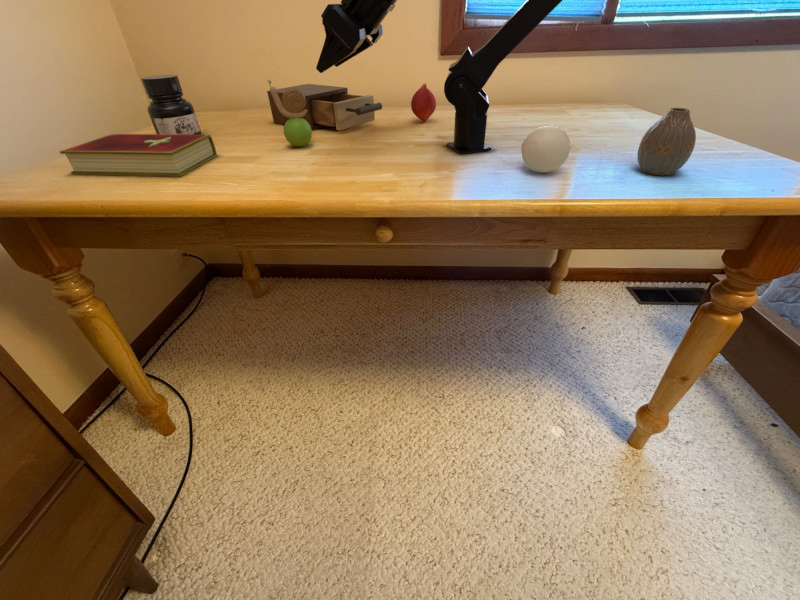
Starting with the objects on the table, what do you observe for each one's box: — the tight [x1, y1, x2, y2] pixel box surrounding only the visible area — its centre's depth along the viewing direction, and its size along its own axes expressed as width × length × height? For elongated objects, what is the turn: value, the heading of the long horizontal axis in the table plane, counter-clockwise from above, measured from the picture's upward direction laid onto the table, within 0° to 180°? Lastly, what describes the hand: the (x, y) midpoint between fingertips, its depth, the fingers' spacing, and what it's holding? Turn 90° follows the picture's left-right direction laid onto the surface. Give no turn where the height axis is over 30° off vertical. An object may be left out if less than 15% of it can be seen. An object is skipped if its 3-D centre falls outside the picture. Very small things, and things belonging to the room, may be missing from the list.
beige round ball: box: [521, 125, 571, 174], centre depth 59 cm, size 7×7×7 cm
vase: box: [637, 107, 697, 176], centre depth 56 cm, size 7×7×9 cm
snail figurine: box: [267, 79, 313, 148], centre depth 73 cm, size 5×6×12 cm
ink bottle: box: [140, 74, 202, 135], centre depth 82 cm, size 10×9×12 cm
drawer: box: [310, 93, 383, 131], centre depth 87 cm, size 18×11×5 cm, turn 51°
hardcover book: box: [59, 133, 218, 178], centre depth 69 cm, size 12×21×4 cm, turn 82°
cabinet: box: [266, 83, 349, 131], centre depth 93 cm, size 15×13×7 cm
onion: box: [410, 83, 437, 122], centre depth 89 cm, size 6×6×8 cm
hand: (326, 67), depth 68 cm, fingers open, 9 cm apart
